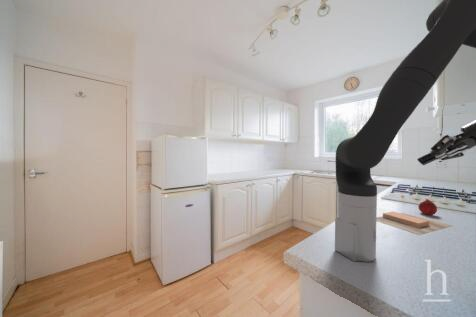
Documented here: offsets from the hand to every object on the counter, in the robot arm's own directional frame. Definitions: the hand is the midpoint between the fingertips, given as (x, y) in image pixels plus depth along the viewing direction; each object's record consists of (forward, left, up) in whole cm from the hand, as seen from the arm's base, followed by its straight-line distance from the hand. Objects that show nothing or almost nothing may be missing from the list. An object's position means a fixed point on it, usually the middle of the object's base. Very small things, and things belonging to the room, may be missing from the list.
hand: (419, 162), depth 59 cm
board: (+12, +8, -26) cm, 29 cm away
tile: (+12, +4, -24) cm, 27 cm away
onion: (+32, +11, -26) cm, 43 cm away
